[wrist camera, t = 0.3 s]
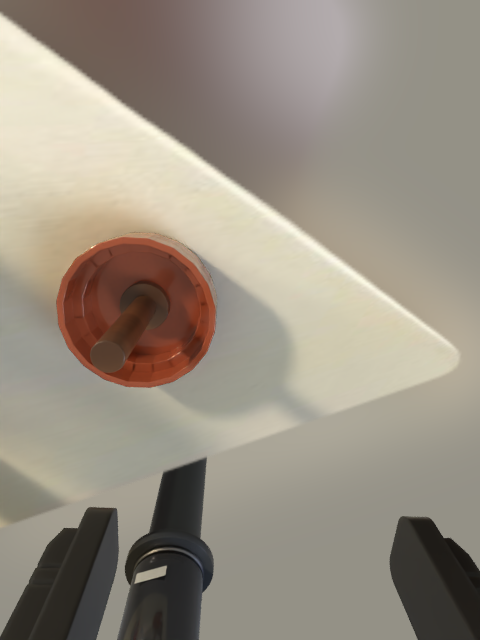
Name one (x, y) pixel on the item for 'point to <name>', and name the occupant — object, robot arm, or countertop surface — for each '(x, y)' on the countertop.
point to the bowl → (104, 309)
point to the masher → (130, 324)
